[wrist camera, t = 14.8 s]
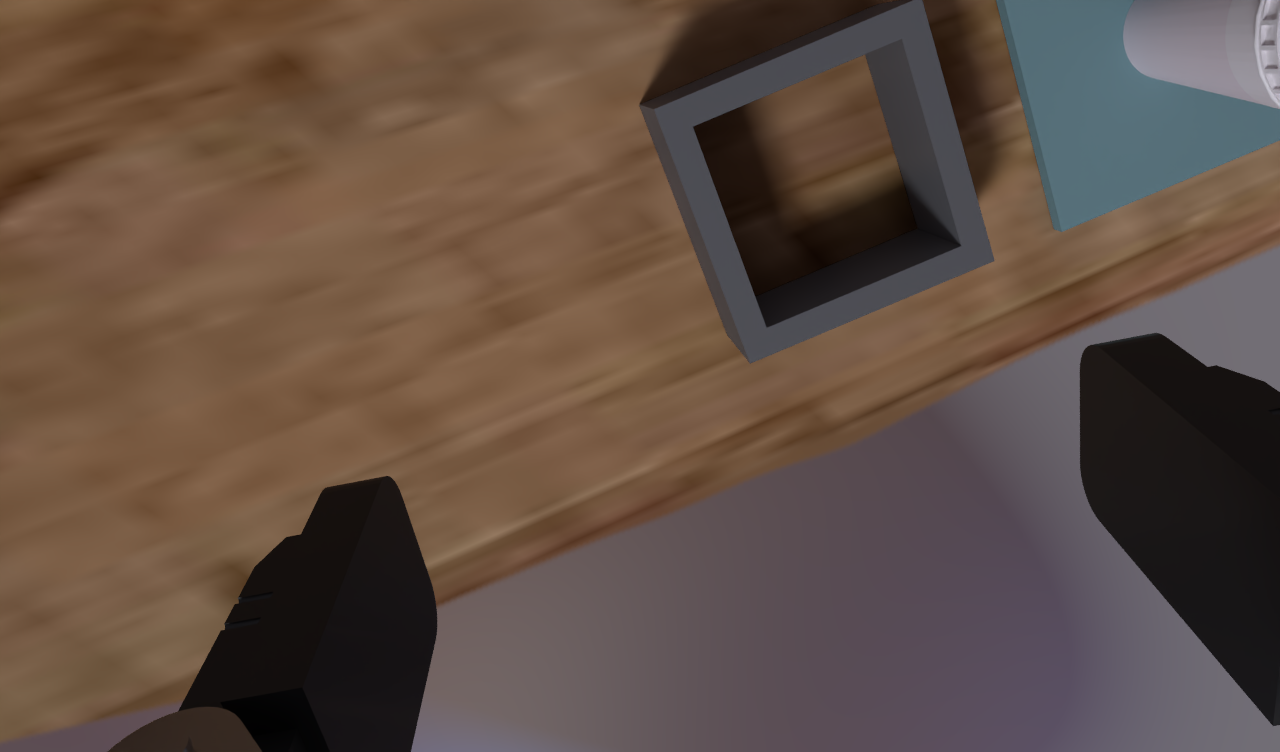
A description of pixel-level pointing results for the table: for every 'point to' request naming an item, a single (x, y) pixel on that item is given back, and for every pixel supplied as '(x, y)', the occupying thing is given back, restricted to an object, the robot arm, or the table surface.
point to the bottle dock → (923, 155)
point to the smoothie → (1209, 45)
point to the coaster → (1114, 111)
